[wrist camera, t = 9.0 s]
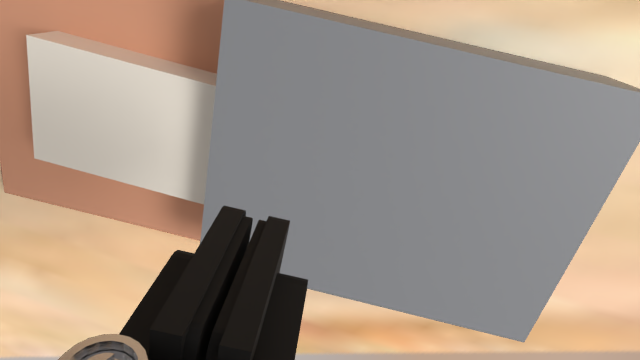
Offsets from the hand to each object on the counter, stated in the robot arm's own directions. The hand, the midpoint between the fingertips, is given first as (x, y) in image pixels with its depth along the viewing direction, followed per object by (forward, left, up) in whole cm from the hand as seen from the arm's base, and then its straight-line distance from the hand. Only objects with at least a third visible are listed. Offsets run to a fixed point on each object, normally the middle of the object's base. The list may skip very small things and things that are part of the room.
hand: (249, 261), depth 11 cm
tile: (-8, -1, -11) cm, 14 cm away
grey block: (+4, -1, -12) cm, 12 cm away
